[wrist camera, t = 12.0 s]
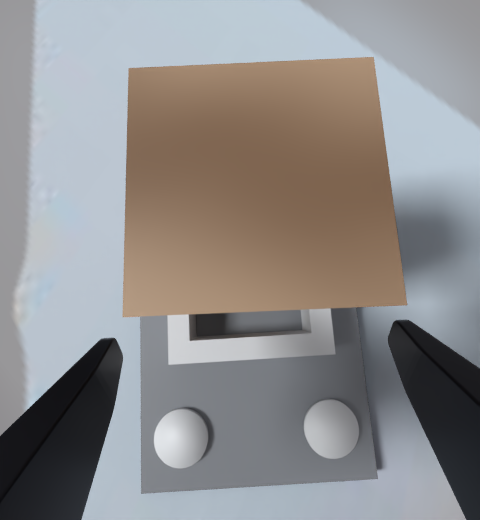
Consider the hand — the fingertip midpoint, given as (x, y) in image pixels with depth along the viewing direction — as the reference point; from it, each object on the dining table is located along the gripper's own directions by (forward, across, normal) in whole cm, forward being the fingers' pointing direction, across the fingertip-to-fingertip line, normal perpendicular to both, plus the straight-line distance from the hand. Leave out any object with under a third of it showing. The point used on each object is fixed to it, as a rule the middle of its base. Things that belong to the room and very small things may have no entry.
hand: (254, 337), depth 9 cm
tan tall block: (+9, 0, +4) cm, 10 cm away
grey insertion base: (+8, 0, +7) cm, 10 cm away
